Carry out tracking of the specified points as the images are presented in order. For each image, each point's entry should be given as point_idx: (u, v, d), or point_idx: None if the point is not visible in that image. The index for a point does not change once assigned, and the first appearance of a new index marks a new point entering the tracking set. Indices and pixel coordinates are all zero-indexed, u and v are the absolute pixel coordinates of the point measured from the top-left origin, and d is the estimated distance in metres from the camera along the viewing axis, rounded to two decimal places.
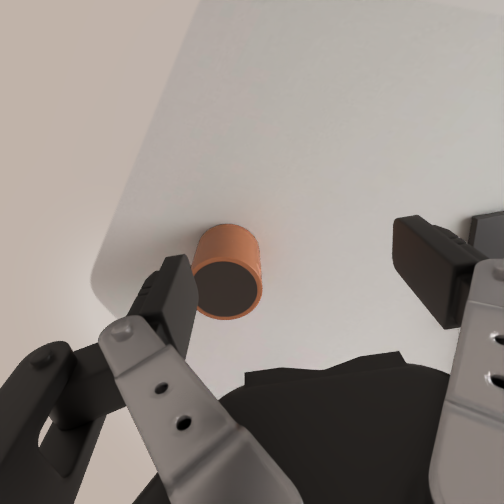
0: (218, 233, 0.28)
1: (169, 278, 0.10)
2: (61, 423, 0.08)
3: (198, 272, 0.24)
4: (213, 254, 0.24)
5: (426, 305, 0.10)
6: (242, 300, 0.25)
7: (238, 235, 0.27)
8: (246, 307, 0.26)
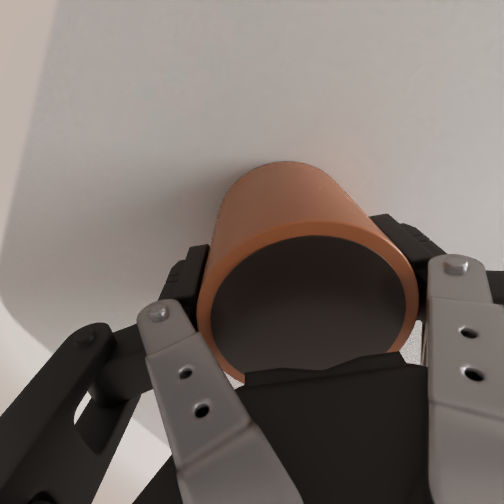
0: (274, 174, 0.11)
1: (196, 266, 0.10)
2: (98, 400, 0.08)
3: (236, 270, 0.08)
4: (281, 214, 0.08)
5: None
6: (353, 349, 0.09)
7: (324, 179, 0.11)
8: None
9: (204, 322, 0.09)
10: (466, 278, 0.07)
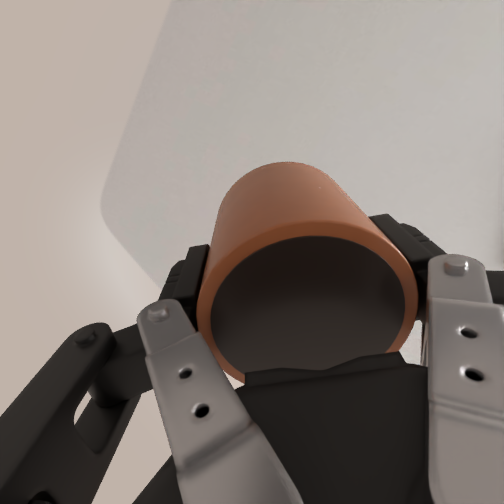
0: (274, 175, 0.11)
1: (196, 266, 0.10)
2: (98, 400, 0.08)
3: (235, 270, 0.08)
4: (281, 215, 0.08)
5: None
6: (352, 349, 0.09)
7: (323, 180, 0.11)
8: None
9: (204, 322, 0.09)
10: (466, 278, 0.07)
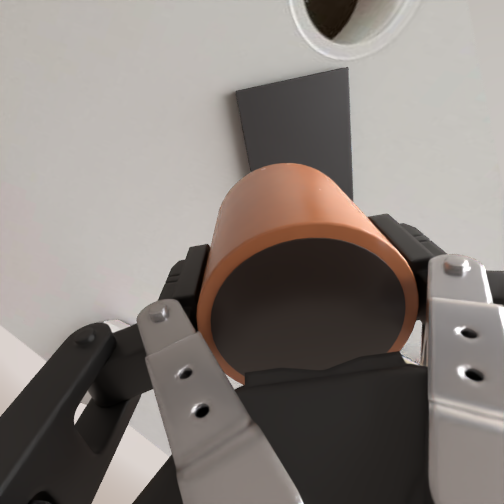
0: (274, 176, 0.11)
1: (196, 266, 0.10)
2: (98, 400, 0.08)
3: (236, 272, 0.08)
4: (281, 217, 0.08)
5: None
6: (353, 351, 0.09)
7: (323, 181, 0.11)
8: None
9: (204, 324, 0.09)
10: (466, 278, 0.07)
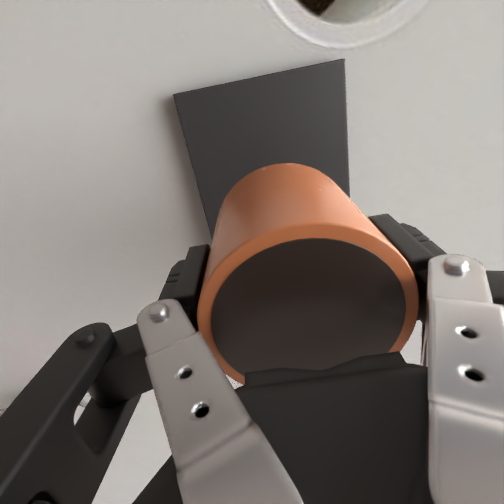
0: (275, 176, 0.11)
1: (196, 266, 0.10)
2: (98, 400, 0.08)
3: (237, 272, 0.08)
4: (282, 217, 0.08)
5: None
6: (353, 351, 0.09)
7: (323, 181, 0.11)
8: None
9: (204, 324, 0.09)
10: (466, 278, 0.07)
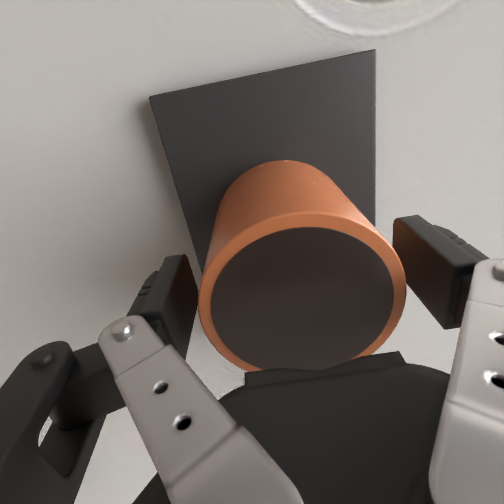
0: (272, 172, 0.12)
1: (169, 278, 0.10)
2: (61, 423, 0.08)
3: (235, 259, 0.08)
4: (277, 207, 0.08)
5: (426, 305, 0.10)
6: (345, 336, 0.10)
7: (318, 176, 0.12)
8: (353, 352, 0.10)
9: (204, 309, 0.09)
10: None
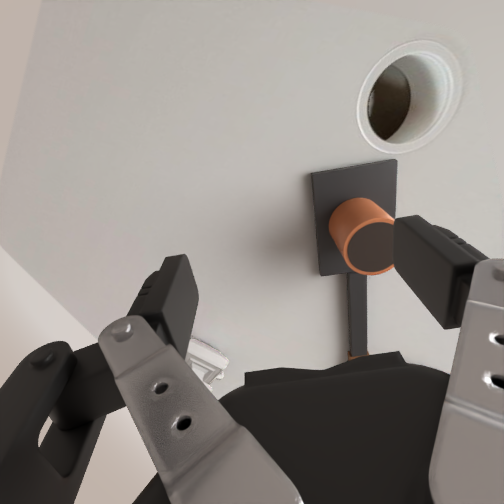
0: (359, 203, 0.33)
1: (169, 278, 0.10)
2: (61, 423, 0.08)
3: (358, 231, 0.29)
4: (370, 216, 0.29)
5: (426, 305, 0.10)
6: (388, 257, 0.30)
7: (376, 205, 0.33)
8: (390, 263, 0.31)
9: (345, 247, 0.30)
10: None
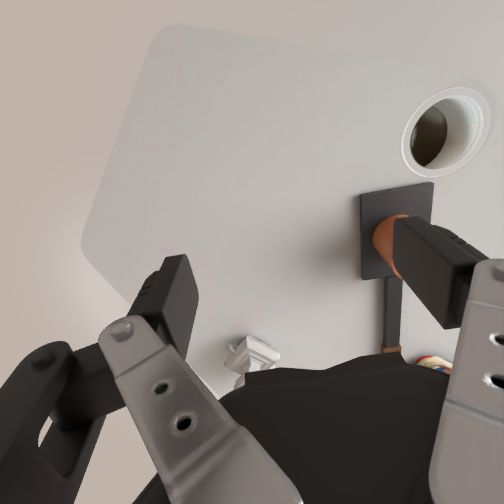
0: None
1: (169, 278, 0.10)
2: (61, 423, 0.08)
3: None
4: None
5: (427, 305, 0.10)
6: None
7: None
8: None
9: None
10: None
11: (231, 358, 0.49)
